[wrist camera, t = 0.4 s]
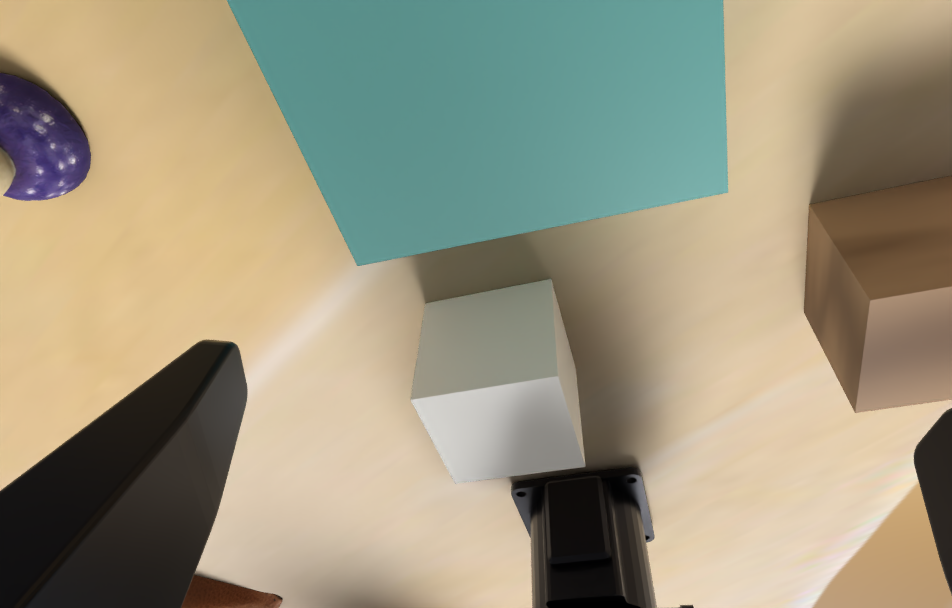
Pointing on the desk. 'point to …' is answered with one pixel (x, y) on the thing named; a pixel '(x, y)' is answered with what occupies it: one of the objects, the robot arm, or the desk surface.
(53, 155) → the toy lamp
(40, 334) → the desk surface
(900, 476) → the desk surface
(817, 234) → the walnut cube
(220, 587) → the sunglasses case
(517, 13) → the teal base block
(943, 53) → the desk surface
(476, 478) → the grey cube
